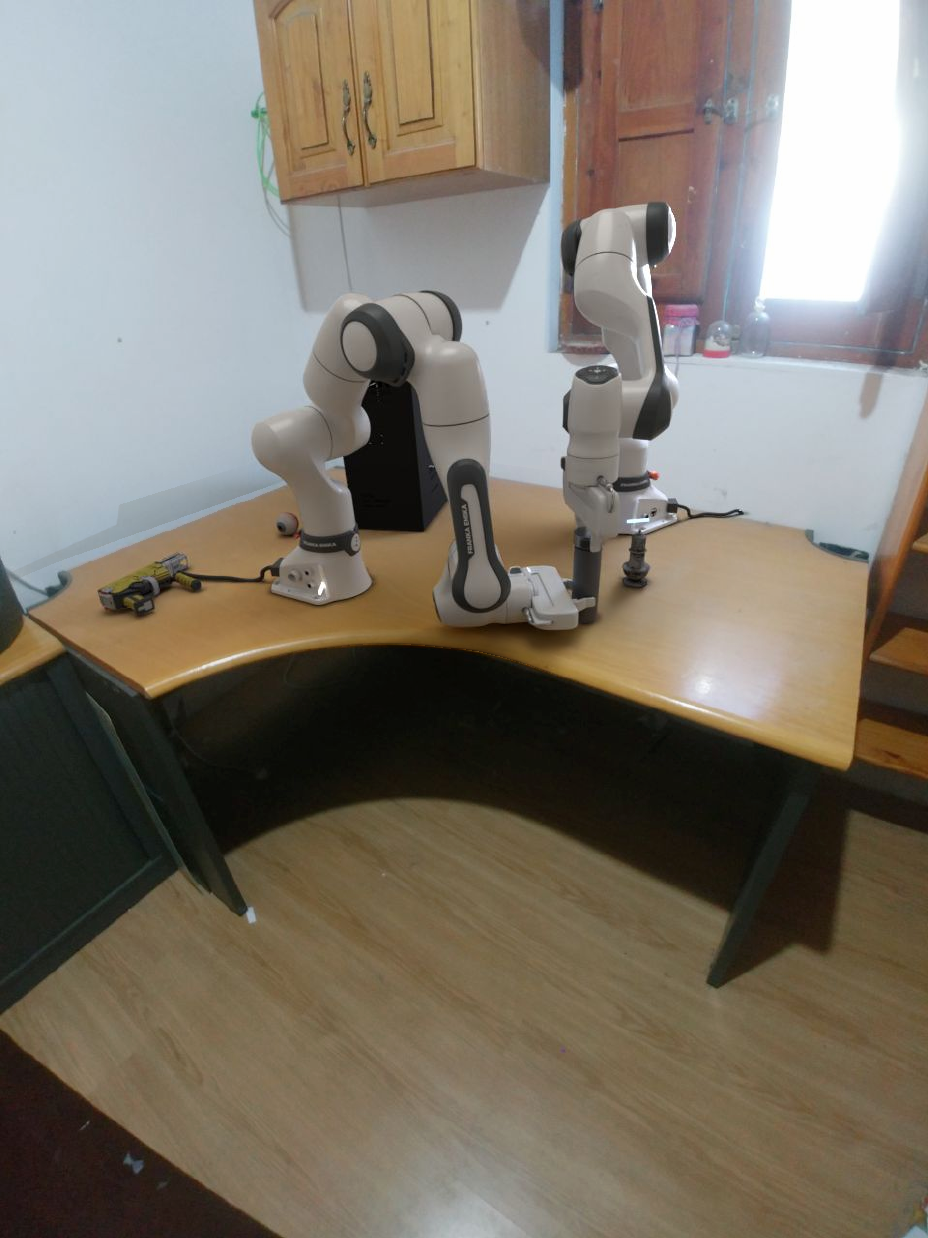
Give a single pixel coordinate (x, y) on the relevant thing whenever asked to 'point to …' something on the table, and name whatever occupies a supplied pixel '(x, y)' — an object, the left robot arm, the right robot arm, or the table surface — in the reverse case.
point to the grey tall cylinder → (586, 580)
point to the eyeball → (287, 523)
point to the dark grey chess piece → (636, 562)
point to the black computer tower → (393, 464)
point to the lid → (583, 537)
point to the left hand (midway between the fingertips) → (589, 592)
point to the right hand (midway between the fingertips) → (587, 543)
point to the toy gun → (146, 585)
